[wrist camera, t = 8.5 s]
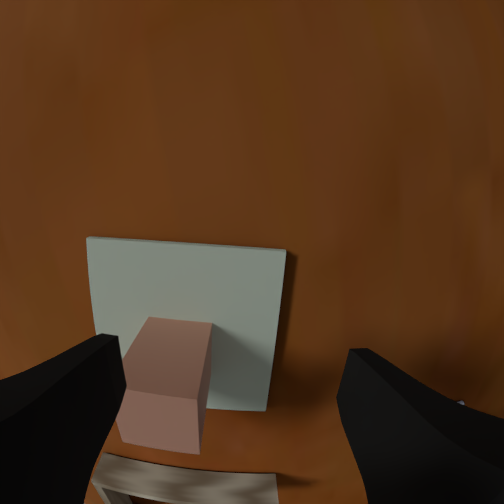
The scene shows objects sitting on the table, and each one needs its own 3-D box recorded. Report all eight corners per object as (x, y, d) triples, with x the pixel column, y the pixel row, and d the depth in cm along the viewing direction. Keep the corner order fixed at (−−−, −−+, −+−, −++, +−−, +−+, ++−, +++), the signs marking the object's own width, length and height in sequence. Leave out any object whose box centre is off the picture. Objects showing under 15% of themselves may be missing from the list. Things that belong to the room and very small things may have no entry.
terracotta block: (212, 322, 18) (197, 399, 11) (211, 374, 19) (199, 454, 12) (148, 316, 18) (107, 385, 11) (153, 367, 19) (122, 441, 12)
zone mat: (285, 249, 17) (286, 251, 17) (265, 406, 20) (265, 411, 20) (90, 236, 17) (86, 237, 16) (110, 389, 20) (108, 392, 19)
